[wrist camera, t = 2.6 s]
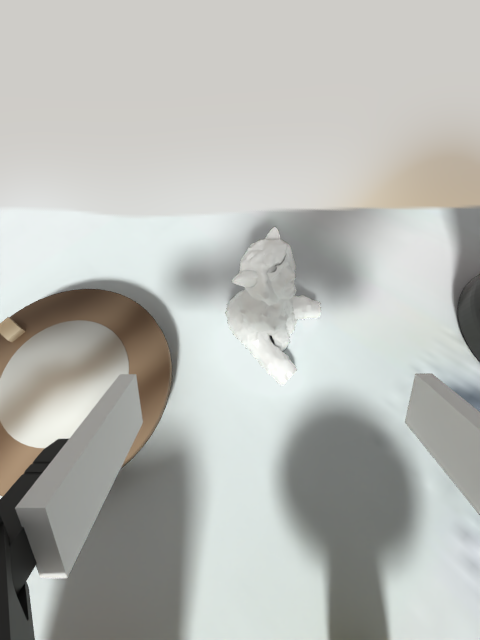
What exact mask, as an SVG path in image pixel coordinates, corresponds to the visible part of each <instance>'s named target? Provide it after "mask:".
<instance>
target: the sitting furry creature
mask: <svg viewBox="0 0 480 640" xmlns="http://www.w3.org/2000/svg"><path fill="white" fill-rule="evenodd" d="M295 270H296V264H295V262H294V259H293V255H292V250H291V246H290V245H289V244H287V243H286V242H284V241H283V240H281V239H280V234H279V231H278V229H277V228H276V227H273V228H272V229H271V230H270V231H269V233H268V234H267V236H266V238H265V239H262V240H258V241H257V242H256V243H252V244H251V245H250V247H249V248H248V250H247V251H246V253H245V254H244V256H243V257H242V259H241V262H240V270H239V274H237V275H236V276H235V277H234V278H233V280H232V282H233V283H234V284H237V285H240V286H243V287H245V290H243V291H240V292H238V293H237V294H236V295H235V296H234V298H233V299H231V300H230V302H229V303H228V304H227V308H226V309H227V311H226V312H225V314H226V316H227V319H228V320H227V321H228V322H227V323H228V324H229V326H230V328H229V329H230V330H231V331H232V332H233V335H235V336H236V338H237V339H239V340H240V341H241V344H242V345H245V348H246V349H249V351H250V354H251V355H252V356H253V357H254V358H255V359H257V360H258V362H259V364H260V365H261V366H262V368H264V369H266V371H267V374H269V375H271V376H272V377H274V379H275V380H276V381H277V382H278V383H279V384H280V385H281V386H283V385H284V384H285V383H286V382H287V380H289V379H290V378H291V377H292V376H293V375H294V373H295V372H296V371H297V369H296V367H295V365H294V364H293V363H292V362H291V360H290V359H289V356H288V355H286V354H285V353H284V352H283V350H285V349H286V348H287V346H288V344H289V343H290V335H292V334H293V332H294V330H295V325H296V323H297V320H298V319H299V320H302V319H303V320H305V319H307V318H310V319H316V318H319V317H320V314H321V307H320V306H319V305H320V304H321V303H320V302H318V301H315V300H311V299H309V298H308V297H305V296H304V295H301V296H294V295H295V293H296V288H295V278H296V275H295V273H294V272H295ZM270 335H271V336H272V338H273V341H272V340H271V339H270Z"/></svg>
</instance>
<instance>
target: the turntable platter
mask: <svg viewBox="0 0 480 640" xmlns="http://www.w3.org/2000/svg"><path fill="white" fill-rule="evenodd" d="M120 374H136V377H137V384H138V391H139V398H140V405H141V412H142V419H143V423H142V426H141V428H140V430H139V432H138V434H137V436H136V438H135V440H134V442H133V444H132V446H131V448H130V450H129V452H128V454H127V456H126V459H125V461H124V463H123V465H122V467H123V466H125V465H126V464H127V463H128V462H129V461H130V460H131V459H132V458H133V457H134V456H135V455H136V454H137V453H138V452H139V451H140V450H141V448H142V447H143V446H144V445H145V443H146V442H147V441H148V439H149V438H150V436H151V435H152V434H153V432H154V430H155V428H156V426H157V425H158V423H159V421H160V419H161V417H162V414H163V412H164V409H165V407H166V404H167V400H168V397H169V393H170V387H171V380H172V363H171V355H170V351H169V347H168V344H167V341H166V339H165V336H164V334H163V332H162V331H161V329H160V327H159V326H158V324H157V323H156V321H155V320H154V318H153V317H152V316H151V315H150V314H149V313H148V312H147V311H146V310H145V309H144V308H143V307H142V306H140V305H139V304H138V303H136V302H135V301H133V300H131V299H130V298H127V297H125V296H123V295H121V294H118V293H114V292H111V291H105V290H99V289H79V290H71V291H66V292H61V293H57V294H54V295H51V296H48V297H45V298H43V299H40V300H38V301H36V302H34V303H32V304H30V305H28V306H26V307H24V308H23V309H21V310H20V311H18V312H17V313H15V314H14V315H12V316H11V317H10V318H9V317H8V318H6V319H5V320H4V321H3V322H2V323H0V495H1V496H4V495H5V494H6V492H7V491H8V490H9V489H10V488H11V487H12V485H13V484H14V483H15V482H16V481H17V480H18V479H19V477H20V476H21V475H23V474H24V472H25V470H26V469H27V468H28V467H29V466H30V465H31V464H33V461H34V460H35V459H36V458H37V456H38V455H39V454H40V453H41V452H42V451H43V450H44V449H45V448H46V447H48V446H49V445H50V444H52V443H53V442H54V441H56V440H57V439H69V438H70V437H71V436H72V435H73V433H74V432H75V431H76V430H77V428H78V427H79V426H80V424H81V423H82V422H83V421H84V419H85V418H86V417H87V416H88V414H89V413H90V412H91V410H92V409H93V408H94V407H95V405H96V404H97V403H98V402H99V400H100V399H101V398H102V396H103V395H104V394H105V393H106V391H107V390H108V389H109V388H110V386H111V385H112V384H113V382H114V381H115V380H116V379H117V377H118V376H119V375H120ZM122 467H121V468H122Z"/></svg>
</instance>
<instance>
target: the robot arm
mask: <svg viewBox="0 0 480 640" xmlns="http://www.w3.org/2000/svg"><path fill="white" fill-rule="evenodd" d="M458 318H459V324H460V327H461V330H462V333H463V336H464V338H465V340H466V342H467V344H468V346H469V347H470V349H471V350H472V352H473V353H474V355H475V356H476V357H477V359H478V360H479V361H480V274H479V275H478V276H476V277H475V278H474V279H472V280H471V281H470V282H469V283H468V284H467V285H466V287H465V288H464V290H463V292H462V294H461V296H460V299H459V304H458ZM142 423H143V419H142V412H141V405H140V398H139V391H138V384H137V377H136V374H120V375H119V376H118V377H117V379H116V380H115V381H114V382H113V384H112V385H111V386H110V388H109V389H108V390H107V391H106V393H105V394H104V395H103V396H102V398H101V399H100V400H99V402H98V403H97V404H96V405H95V407H94V408H93V409H92V410H91V412H90V413H89V414H88V416H87V417H86V418H85V419H84V421H83V422H82V423H81V424H80V426H79V427H78V428H77V430H76V431H75V432H74V433H73V435H72V436H71V437H70V438H69V439H57V440H56V441H54V442H53V443H52V444H50V445H49V446H48V447H46V448H45V449H44V450H43V451H42V452H41V453H40V454H39V455H38V456H37V458H36V459H35V460H34V461H33V464H31V465H30V466H29V467H28V468H27V469H26V470H25V472H24V474H23V475H21V476H20V477H19V479H18V480H17V481H16V482H15V483H14V484H13V485H12V487H11V488H10V489H9V490H8V491H7V492H6V494H5V495H4V496H3V497H2V498H1V499H0V640H35V638H34V629H33V621H32V612H31V604H30V595H29V587H28V585H27V582H26V580H27V579H28V577H29V575H30V574H31V572H32V570H33V569H34V567H35V565H36V567H37V570H38V573H39V575H40V578H68V576H69V574H70V572H71V570H72V568H73V566H74V564H75V562H76V559H77V557H78V555H79V553H80V551H81V549H82V547H83V545H84V543H85V541H86V539H87V537H88V535H89V533H90V531H91V529H92V526H93V524H94V522H95V520H96V518H97V516H98V514H99V512H100V510H101V508H102V506H103V504H104V502H105V500H106V498H107V496H108V494H109V491H110V489H111V487H112V485H113V483H114V481H115V479H116V477H117V475H118V473H119V471H120V469H121V467H122V465H123V463H124V461H125V459H126V456H127V454H128V452H129V450H130V448H131V446H132V444H133V442H134V440H135V438H136V436H137V434H138V432H139V430H140V428H141V426H142ZM405 423H406V424H407V426H408V427H409V428H410V429H411V431H412V432H413V433H414V434H415V436H416V437H417V438H418V439H419V441H420V442H421V443H422V444H423V446H424V447H425V448H426V449H427V451H428V452H429V453H430V454H431V456H432V457H433V458H434V459H435V460H436V462H437V463H438V464H439V465H440V467H441V468H442V469H443V470H444V472H445V473H446V474H447V475H448V477H449V478H450V479H451V480H452V482H453V483H454V484H455V485H456V487H457V488H458V489H459V490H460V491H461V493H462V494H463V495H464V496H465V498H466V499H467V500H468V501H469V503H470V504H471V505H472V506H473V508H474V509H475V510H476V511H477V513H478V514H479V515H480V412H479V411H478V410H476V409H475V408H474V407H473V406H471V405H470V404H469V403H468V402H466V401H465V400H464V399H463V398H462V397H460V396H459V395H458V394H457V393H455V392H454V391H453V390H452V389H450V388H449V387H448V386H447V385H445V384H444V383H443V382H442V381H440V380H439V379H438V378H437V377H436V376H434V375H433V374H415V378H414V383H413V387H412V392H411V396H410V401H409V405H408V410H407V414H406V419H405Z"/></svg>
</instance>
